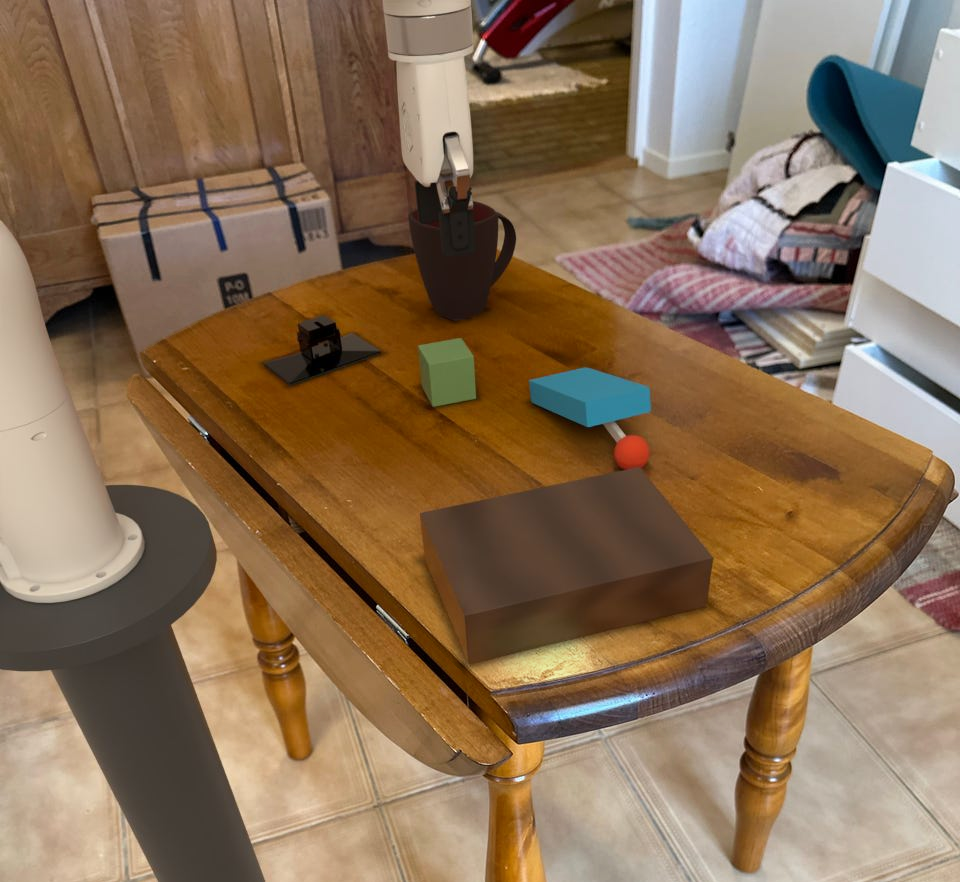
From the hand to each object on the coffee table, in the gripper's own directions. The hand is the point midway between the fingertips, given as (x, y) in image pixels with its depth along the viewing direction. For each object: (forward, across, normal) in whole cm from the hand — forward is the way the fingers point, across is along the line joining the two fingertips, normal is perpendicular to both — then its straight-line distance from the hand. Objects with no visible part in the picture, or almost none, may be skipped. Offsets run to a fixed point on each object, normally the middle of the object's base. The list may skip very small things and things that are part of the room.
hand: (446, 236), depth 92 cm
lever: (+17, +13, +11) cm, 25 cm away
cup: (+18, -23, +8) cm, 30 cm away
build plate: (+17, -15, -13) cm, 26 cm away
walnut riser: (+17, +35, -1) cm, 39 cm away
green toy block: (+17, -1, -1) cm, 17 cm away
